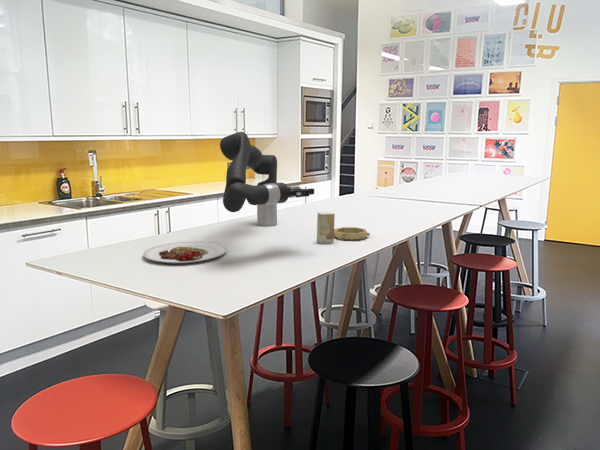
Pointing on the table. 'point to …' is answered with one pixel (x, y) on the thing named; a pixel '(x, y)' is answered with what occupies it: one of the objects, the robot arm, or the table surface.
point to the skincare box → (325, 227)
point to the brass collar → (350, 233)
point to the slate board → (351, 239)
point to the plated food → (184, 252)
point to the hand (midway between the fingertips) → (306, 190)
